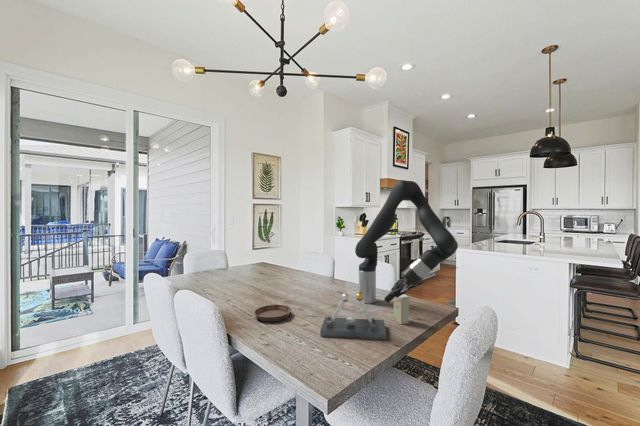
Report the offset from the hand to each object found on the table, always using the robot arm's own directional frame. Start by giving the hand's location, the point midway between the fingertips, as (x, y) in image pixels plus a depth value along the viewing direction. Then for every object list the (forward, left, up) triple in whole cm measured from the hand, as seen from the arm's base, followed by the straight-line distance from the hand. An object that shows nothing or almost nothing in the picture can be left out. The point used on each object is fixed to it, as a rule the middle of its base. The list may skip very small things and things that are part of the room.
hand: (386, 300), depth 122 cm
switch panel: (0, -13, -13) cm, 19 cm away
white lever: (0, -23, -11) cm, 26 cm away
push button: (0, -14, -11) cm, 18 cm away
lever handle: (0, -5, -11) cm, 12 cm away
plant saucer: (-12, -52, -14) cm, 56 cm away
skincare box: (-13, +8, -13) cm, 20 cm away
